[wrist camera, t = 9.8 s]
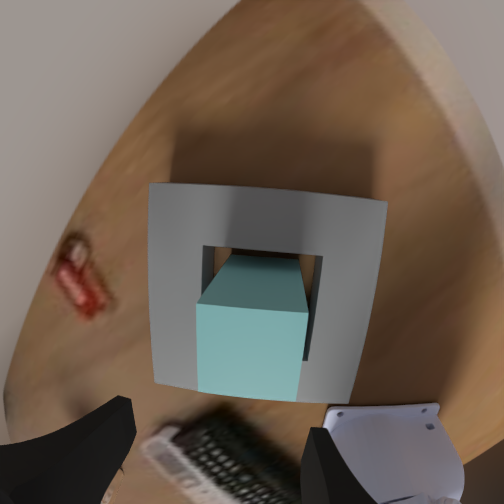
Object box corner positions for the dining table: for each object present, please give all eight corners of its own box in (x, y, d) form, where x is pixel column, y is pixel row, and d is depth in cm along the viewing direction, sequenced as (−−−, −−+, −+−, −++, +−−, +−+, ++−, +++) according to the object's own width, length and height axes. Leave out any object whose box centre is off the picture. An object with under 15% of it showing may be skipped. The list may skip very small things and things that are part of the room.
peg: (298, 259, 19) (308, 312, 11) (292, 321, 20) (295, 401, 12) (231, 254, 19) (196, 303, 11) (228, 316, 20) (198, 391, 12)
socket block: (371, 198, 18) (387, 201, 15) (341, 377, 20) (348, 403, 17) (169, 182, 18) (149, 183, 16) (169, 359, 21) (154, 382, 18)
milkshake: (87, 444, 25) (42, 508, 15) (133, 469, 25) (97, 540, 15) (84, 463, 26) (45, 521, 16) (126, 486, 26) (94, 550, 16)
